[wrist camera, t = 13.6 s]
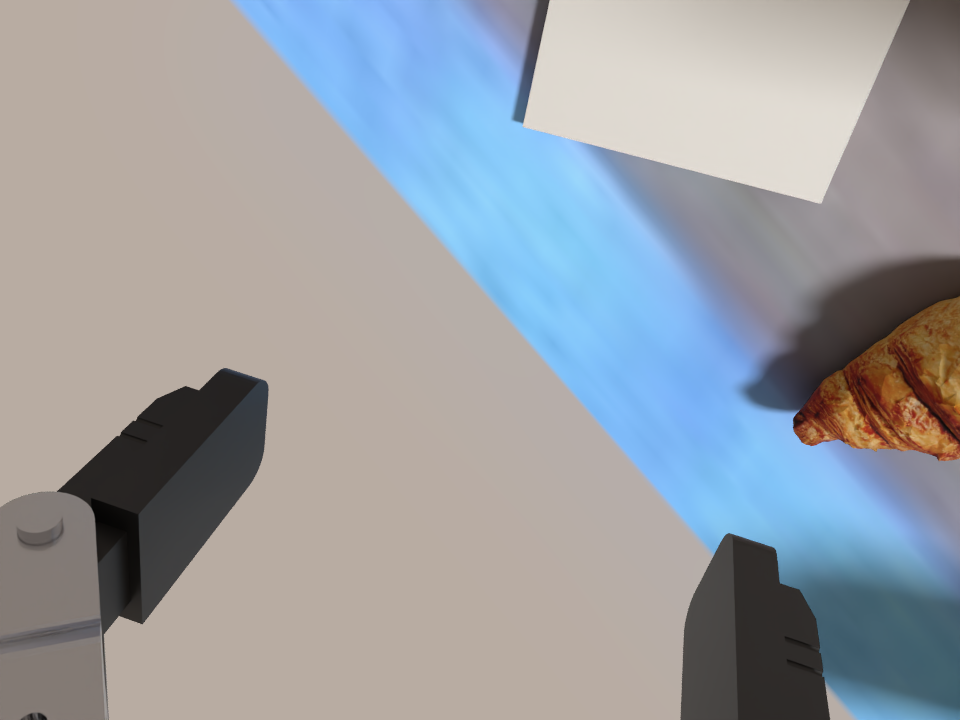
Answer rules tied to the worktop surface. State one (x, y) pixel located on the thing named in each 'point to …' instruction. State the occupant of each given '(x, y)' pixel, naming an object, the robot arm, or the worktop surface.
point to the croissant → (895, 391)
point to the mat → (714, 82)
